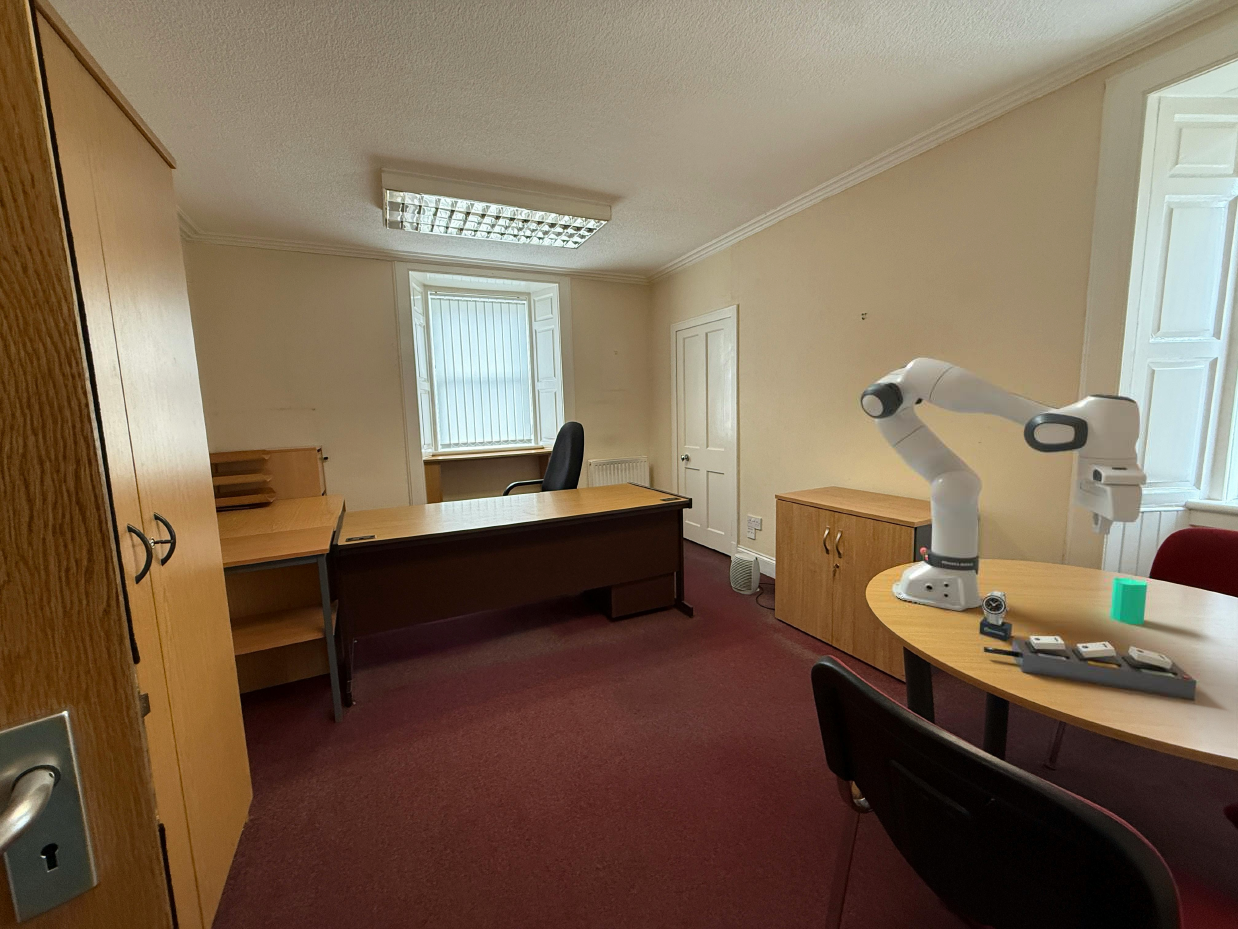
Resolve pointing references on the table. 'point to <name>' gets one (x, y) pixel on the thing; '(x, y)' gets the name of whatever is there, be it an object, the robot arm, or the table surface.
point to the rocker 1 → (1047, 642)
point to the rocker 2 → (1096, 649)
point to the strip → (1101, 669)
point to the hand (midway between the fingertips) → (1100, 533)
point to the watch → (995, 617)
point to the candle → (1128, 600)
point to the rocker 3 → (1150, 657)
